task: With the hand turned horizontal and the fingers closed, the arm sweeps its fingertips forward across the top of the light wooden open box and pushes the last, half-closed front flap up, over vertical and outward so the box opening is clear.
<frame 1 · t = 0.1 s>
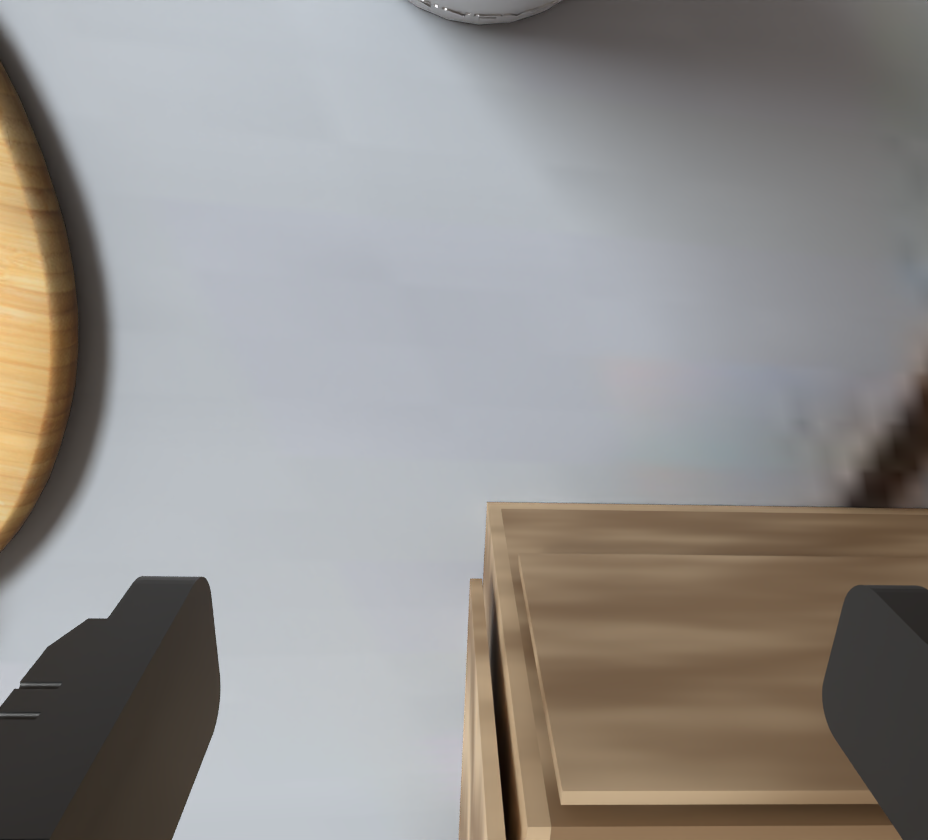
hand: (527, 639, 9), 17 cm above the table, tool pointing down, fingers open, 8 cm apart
light wooden open box: (695, 718, 33), on the table
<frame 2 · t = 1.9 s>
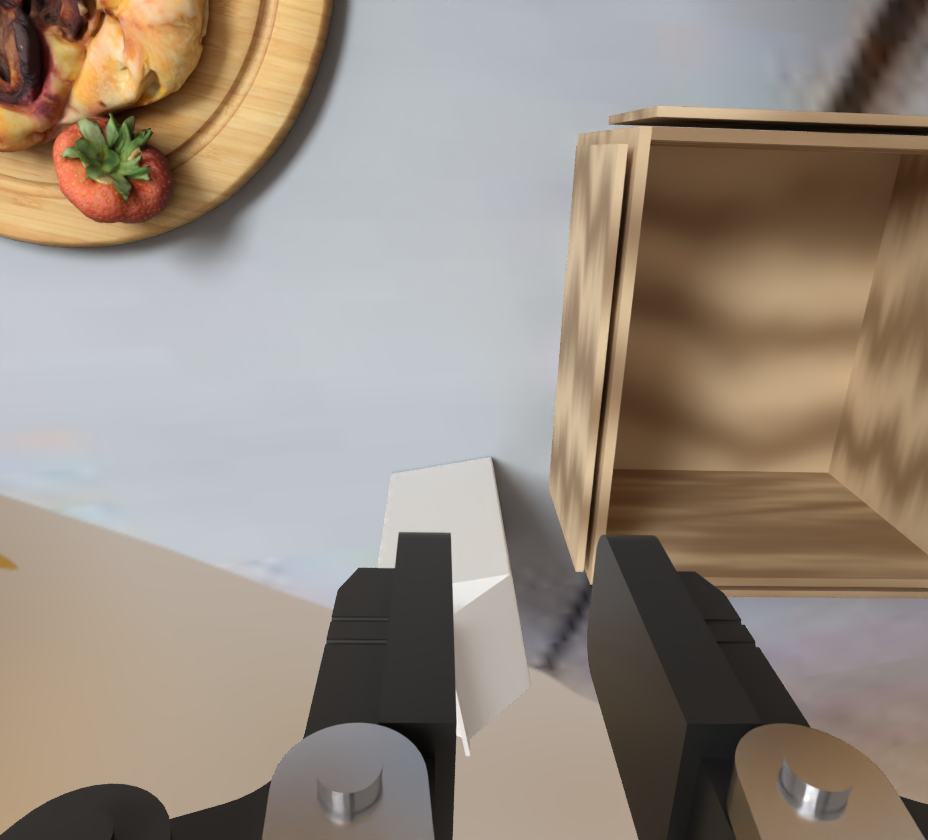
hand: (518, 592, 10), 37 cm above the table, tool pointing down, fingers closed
light wooden open box: (715, 320, 47), on the table
milk carton: (449, 507, 51), on the table
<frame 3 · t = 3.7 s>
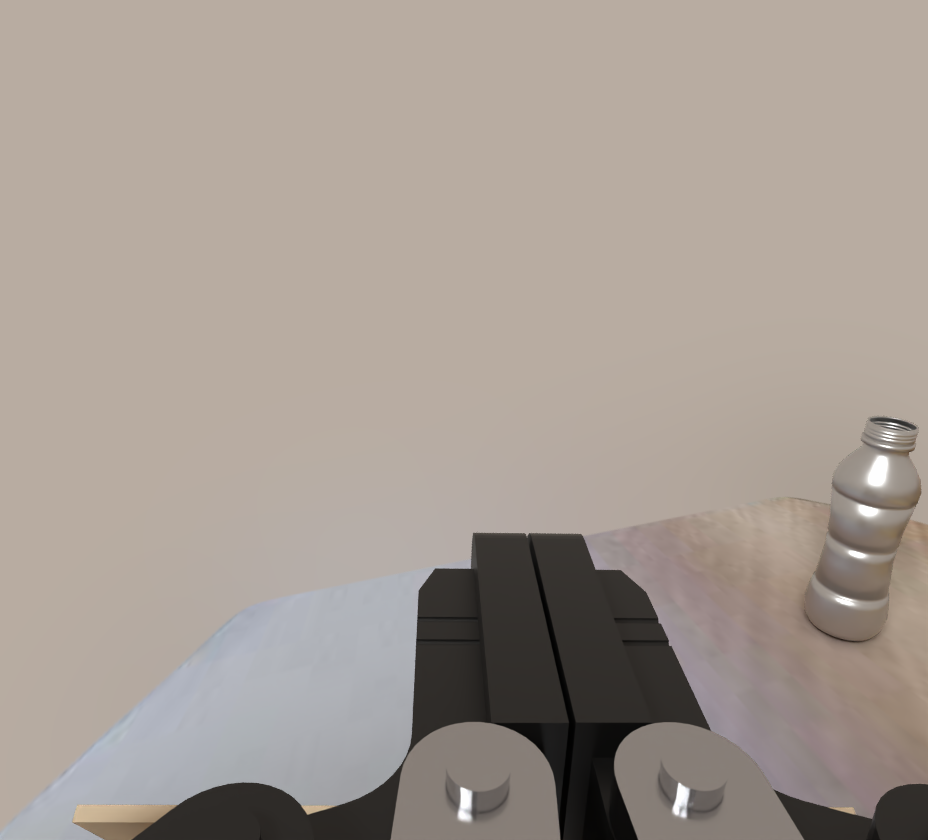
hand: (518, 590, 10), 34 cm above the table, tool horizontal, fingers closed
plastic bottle: (838, 629, 66), on the table
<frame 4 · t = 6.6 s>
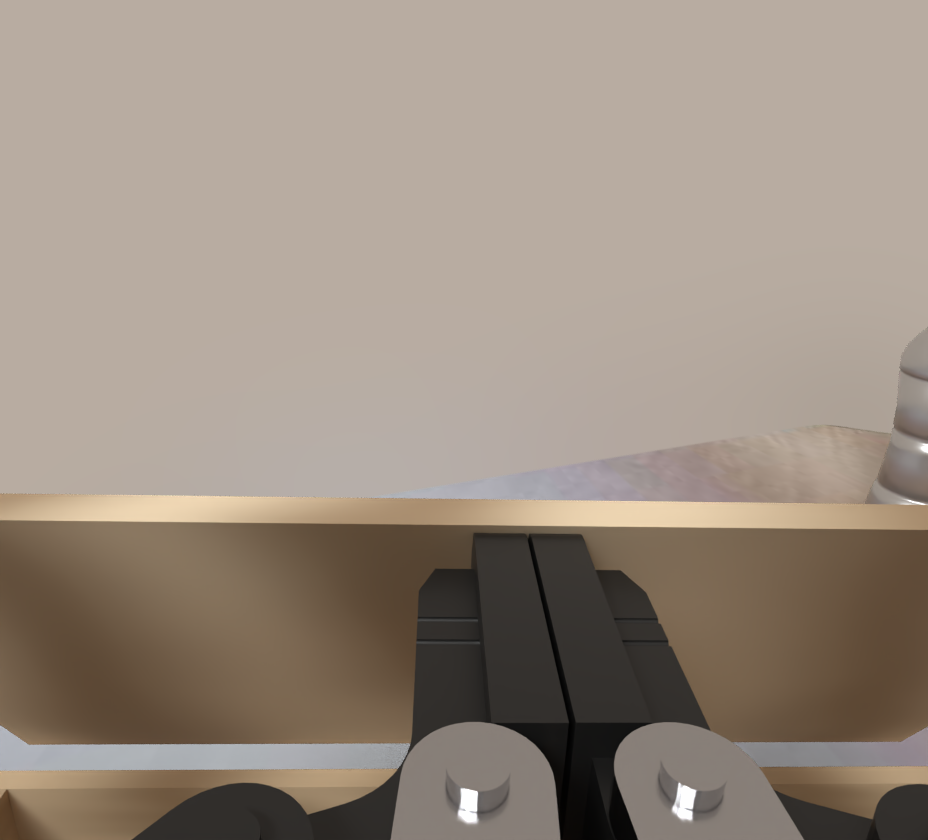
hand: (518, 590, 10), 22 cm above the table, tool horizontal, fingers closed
front flap: (492, 654, 13), point 19 cm above the table, hinge at 60.0°, touching gripper
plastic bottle: (903, 546, 56), on the table
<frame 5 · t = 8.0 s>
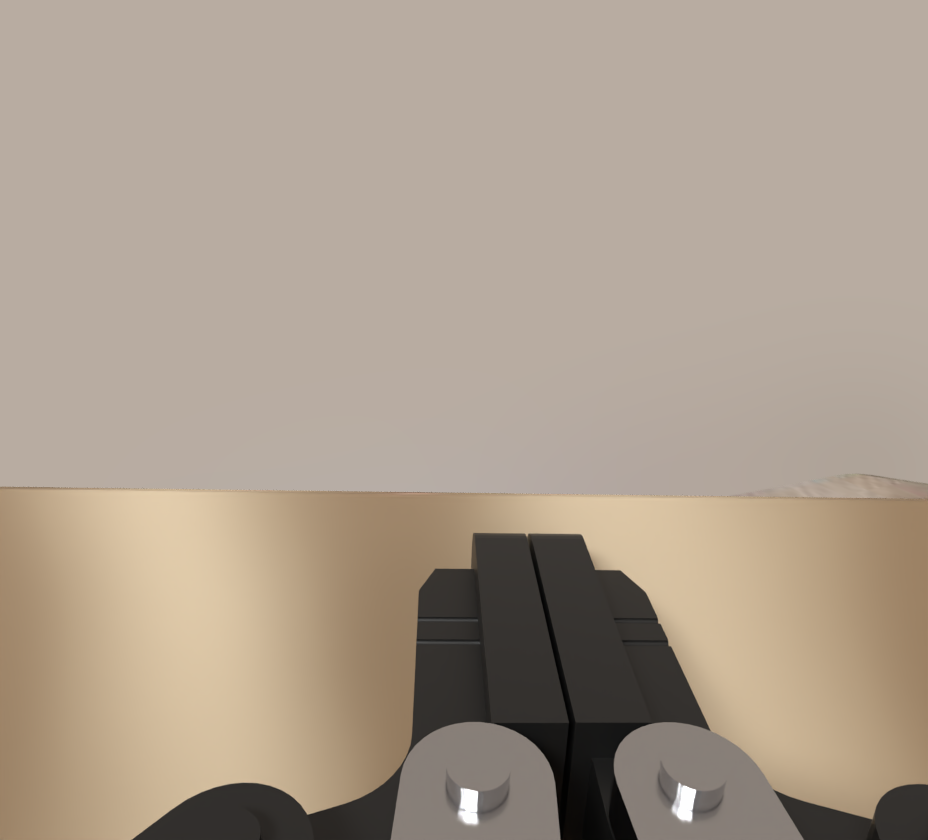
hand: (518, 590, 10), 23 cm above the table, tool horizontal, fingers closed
front flap: (507, 833, 10), point 19 cm above the table, hinge at 110.3°, touching gripper
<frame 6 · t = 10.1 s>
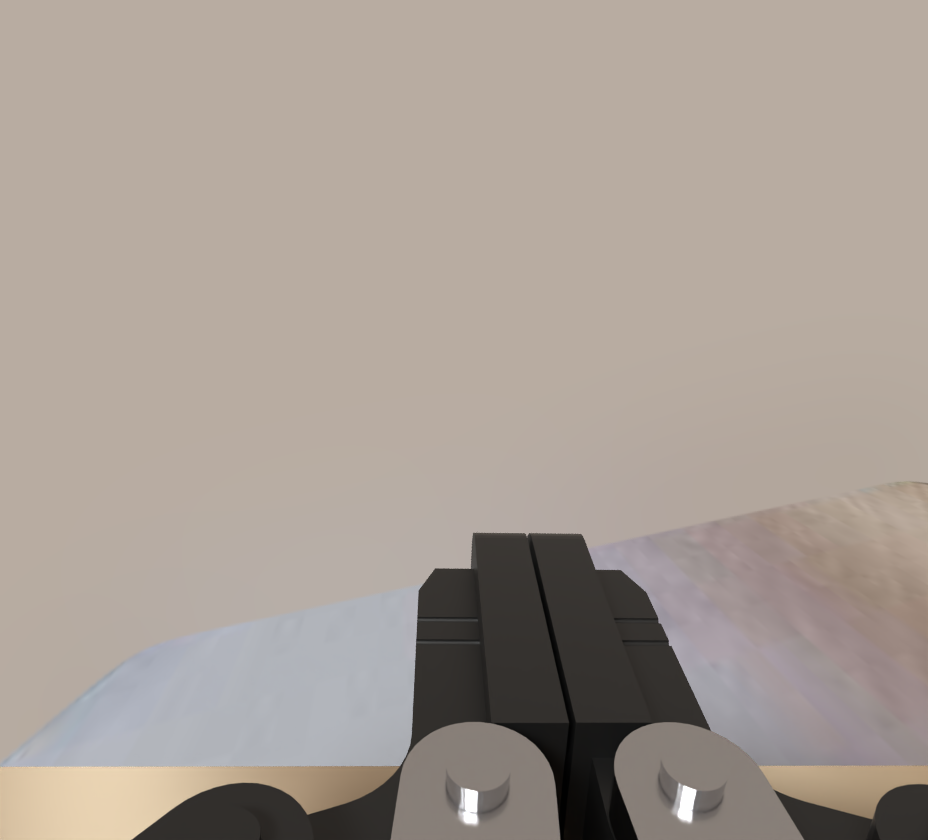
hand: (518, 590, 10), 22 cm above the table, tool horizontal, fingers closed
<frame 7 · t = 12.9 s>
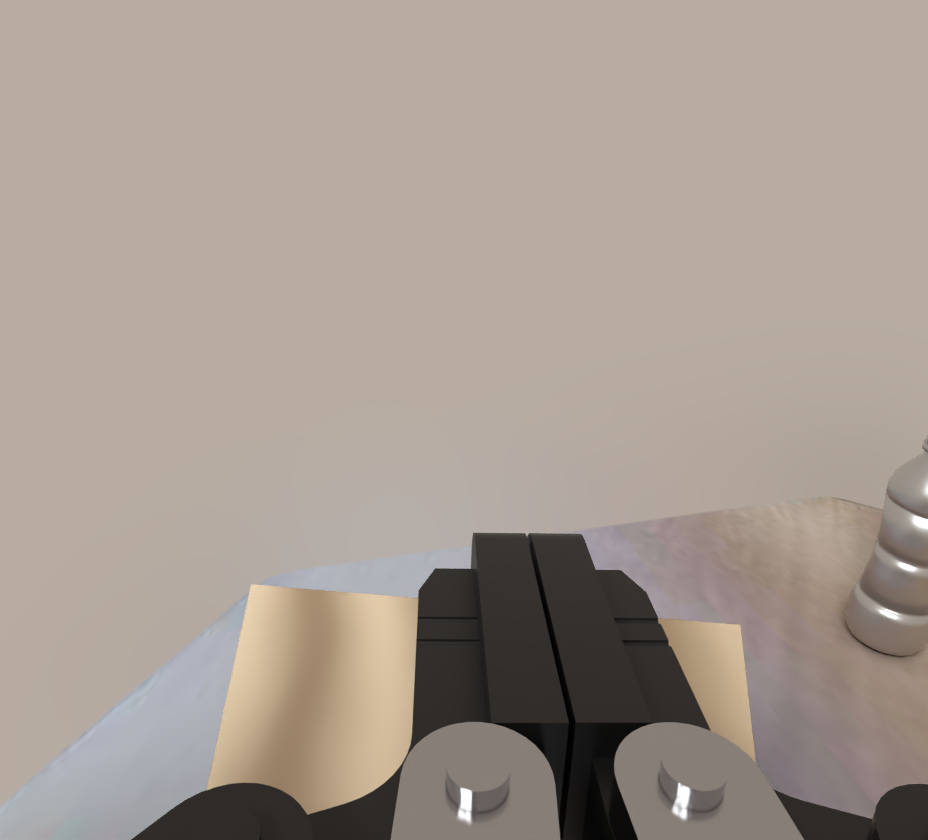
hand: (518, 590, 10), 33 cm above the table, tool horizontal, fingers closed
front flap: (489, 731, 28), point 18 cm above the table, hinge at 142.3°
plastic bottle: (878, 642, 63), on the table
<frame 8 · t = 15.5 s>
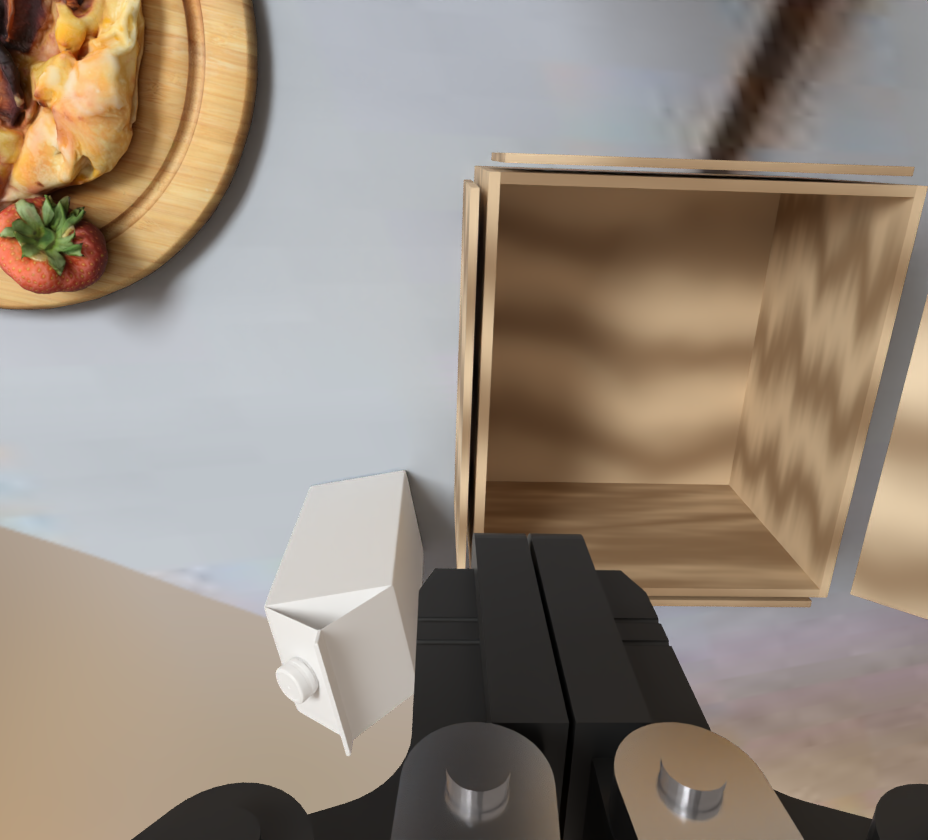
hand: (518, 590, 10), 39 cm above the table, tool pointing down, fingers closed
light wooden open box: (614, 340, 49), on the table
milk carton: (368, 517, 54), on the table
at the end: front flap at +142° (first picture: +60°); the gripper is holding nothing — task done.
